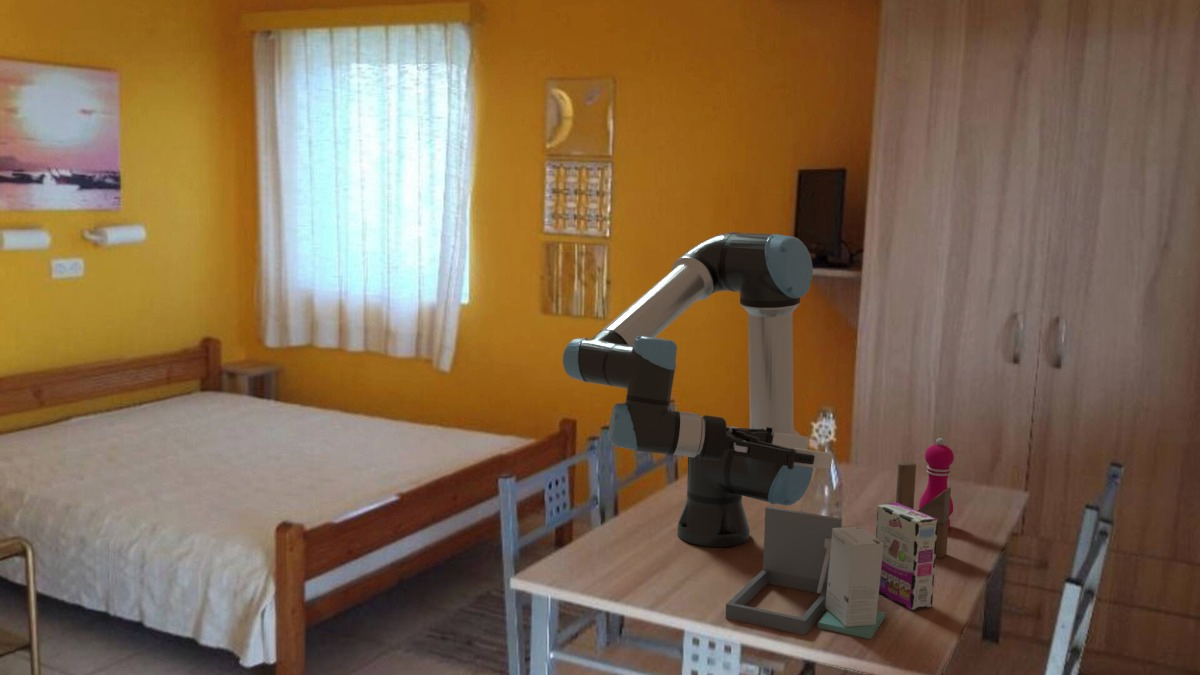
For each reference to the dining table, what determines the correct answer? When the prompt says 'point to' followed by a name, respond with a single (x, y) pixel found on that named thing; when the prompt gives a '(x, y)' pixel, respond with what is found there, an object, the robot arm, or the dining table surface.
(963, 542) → the dining table surface
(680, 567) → the dining table surface
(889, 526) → the candy bar box
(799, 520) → the case
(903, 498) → the wooden peg stand
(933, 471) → the pepper mill
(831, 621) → the pad
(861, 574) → the skincare box
